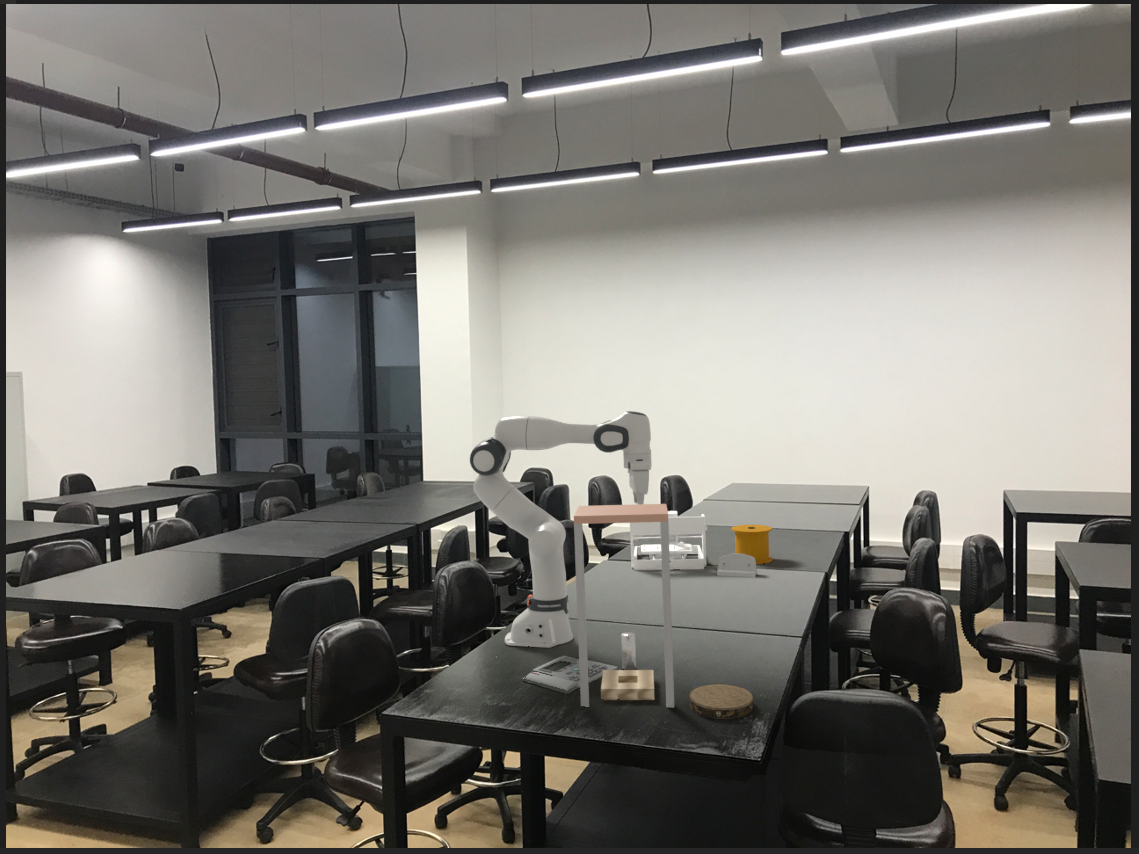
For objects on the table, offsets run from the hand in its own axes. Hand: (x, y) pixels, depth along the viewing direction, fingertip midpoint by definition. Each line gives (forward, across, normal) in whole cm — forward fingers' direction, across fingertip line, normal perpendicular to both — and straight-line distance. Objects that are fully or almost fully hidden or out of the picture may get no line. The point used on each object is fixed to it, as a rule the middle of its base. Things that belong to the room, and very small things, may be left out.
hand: (638, 505), depth 261 cm
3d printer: (+44, -113, +26) cm, 124 cm away
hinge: (+44, -83, +51) cm, 107 cm away
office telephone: (+45, +27, -25) cm, 58 cm away
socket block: (+44, +41, -9) cm, 61 cm away
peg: (+44, +24, -7) cm, 51 cm away
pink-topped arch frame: (+44, +44, -9) cm, 63 cm away
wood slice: (+45, +55, +13) cm, 72 cm away
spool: (+44, -108, +64) cm, 133 cm away
